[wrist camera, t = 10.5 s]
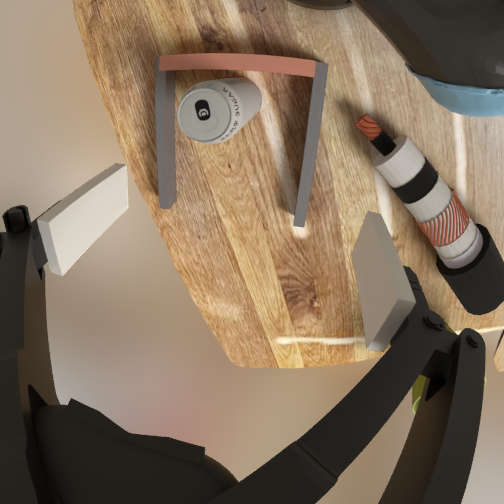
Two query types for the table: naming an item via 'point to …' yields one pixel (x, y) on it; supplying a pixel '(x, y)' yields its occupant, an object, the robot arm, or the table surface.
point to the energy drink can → (218, 108)
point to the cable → (441, 221)
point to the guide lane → (233, 62)
